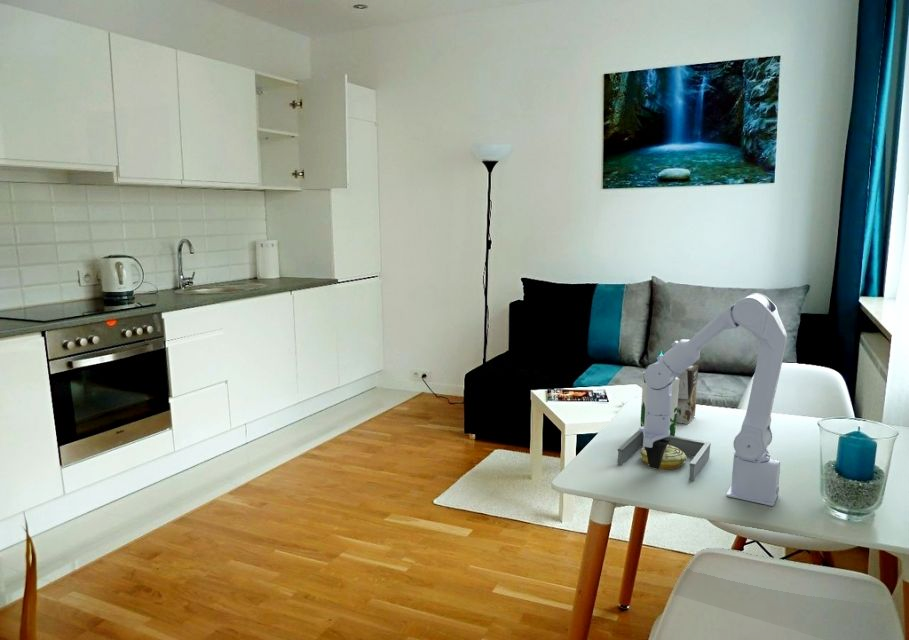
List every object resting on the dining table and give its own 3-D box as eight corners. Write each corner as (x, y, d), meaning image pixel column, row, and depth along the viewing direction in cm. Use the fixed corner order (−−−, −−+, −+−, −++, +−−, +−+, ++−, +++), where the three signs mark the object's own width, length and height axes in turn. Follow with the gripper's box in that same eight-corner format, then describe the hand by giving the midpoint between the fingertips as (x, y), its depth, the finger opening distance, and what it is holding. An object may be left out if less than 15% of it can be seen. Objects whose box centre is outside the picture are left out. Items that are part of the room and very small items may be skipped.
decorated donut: (694, 464, 168) (695, 450, 167) (668, 474, 161) (669, 459, 160) (658, 452, 176) (659, 438, 175) (632, 461, 169) (632, 447, 169)
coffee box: (688, 425, 197) (692, 370, 195) (666, 421, 201) (669, 367, 198) (695, 416, 205) (699, 364, 202) (674, 413, 208) (677, 361, 206)
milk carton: (636, 433, 189) (640, 363, 186) (669, 434, 189) (673, 364, 186) (644, 444, 181) (648, 371, 177) (678, 445, 180) (683, 371, 177)
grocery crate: (709, 458, 171) (710, 442, 171) (693, 481, 157) (695, 464, 156) (638, 444, 181) (639, 429, 180) (617, 464, 166) (617, 448, 166)
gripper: (649, 402, 167) (646, 454, 169) (631, 417, 155) (628, 473, 157) (679, 406, 163) (675, 460, 166) (662, 422, 151) (658, 480, 154)
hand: (654, 467), depth 161 cm, fingers closed
